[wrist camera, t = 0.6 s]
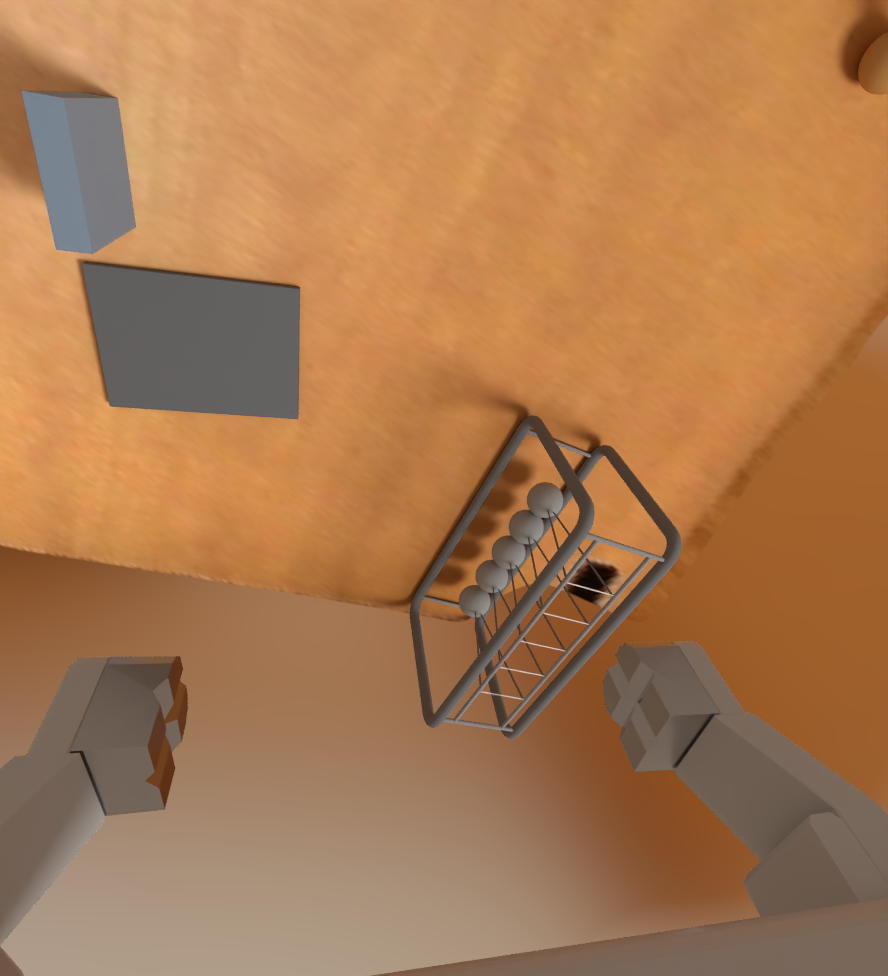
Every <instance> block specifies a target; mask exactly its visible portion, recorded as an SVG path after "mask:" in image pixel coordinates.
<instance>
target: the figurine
mask: <svg viewBox="0 0 888 976" xmlns="http://www.w3.org/2000/svg"><path fill="white" fill-rule="evenodd" d="M858 79H859V82H860V84H861V86H862V87H863V88H864V89H865V90H866V91H867V92H869V93H872V94H887V93H888V32H886V33H884V34H883V35H881V36H880V37H879V38H877V39H876V40H875V41H874V42H873V43H872V44H871V45H870V46H869V47H868V49H867V50H866V52H865V53H864V55H863V57H862V59H861V61H860V64H859V69H858Z"/></svg>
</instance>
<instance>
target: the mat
mask: <svg viewBox="0 0 888 976" xmlns="http://www.w3.org/2000/svg"><path fill="white" fill-rule="evenodd" d="M82 268H83V273H84V278H85V283H86V288H87V293H88V298H89V303H90V308H91V313H92V318H93V323H94V328H95V334H96V339H97V344H98V349H99V354H100V359H101V364H102V369H103V374H104V379H105V384H106V389H107V394H108V399H109V404H110V406H112V407H127V408H141V409H156V410H171V411H186V412H200V413H215V414H230V415H244V416H259V417H274V418H289V419H298V401H299V318H300V287H294V286H285V285H277V284H268V283H260V282H251V281H243V280H234V279H226V278H217V277H209V276H200V275H192V274H183V273H175V272H166V271H158V270H149V269H141V268H133V267H124V266H116V265H107V264H99V263H90V262H84V263H82Z"/></svg>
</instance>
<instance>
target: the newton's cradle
mask: <svg viewBox="0 0 888 976" xmlns="http://www.w3.org/2000/svg"><path fill="white" fill-rule="evenodd" d="M532 427H533V429H534V431H535V432H533V431H531V430H530V429H531V428H532ZM527 433H528V434H530V435H533V436H535V437H538V438H539V439H540V441H541V443H542V444H543V446H544V448H545V449H546V451H547V453H548V455H549V456H550V458H551V460H552V461H553V463H554V465H555V467H556V468H557V470H558V472H559V473H560V475H561V477H562V479H563V480H564V482H565V484H566V485H567V487H566V489H565V490H564V492H563V493H561V491H560V490H559V488H558V487H557V486H555V485H554V484H552V483H548V482H543V483H539V484H536V485H535V486H533V487H532V488H531V490H530V491H529V493H528V496H527V504H528V507H529V509H530V510H521V511H518V512H517V513H515V514H514V515H513V516H512V518H511V520H510V522H509V531H510V534H511V536H503V537H500V538H499V539H498V540H497V541H496V542H495V543H494V545H493V547H492V557H493V560H487V561H485V562H483V563H482V564H480V566H479V567H478V569H477V571H476V582H477V584H478V586H477V585H471V586H468V587H466V588H465V589H464V590H463V591H462V592H461V594H460V596H459V604H455V603H451V602H447V601H443V600H439V599H434V598H430V597H426V596H425V594H426V593H427V591H428V590H429V588H430V587H431V585H432V583H433V582H434V580H435V579H436V577H437V575H438V574H439V572H440V571H441V569H442V567H443V566H444V564H445V563H446V561H447V560H448V558H449V556H450V555H451V553H452V552H453V550H454V548H455V547H456V545H457V544H458V542H459V540H460V539H461V537H462V536H463V534H464V533H465V531H466V529H467V528H468V526H469V525H470V523H471V521H472V520H473V518H474V517H475V515H476V513H477V512H478V510H479V509H480V507H481V506H482V504H483V502H484V501H485V499H486V498H487V496H488V494H489V493H490V491H491V490H492V488H493V486H494V485H495V483H496V482H497V480H498V479H499V477H500V475H501V474H502V472H503V471H504V469H505V467H506V466H507V464H508V463H509V461H510V459H511V458H512V456H513V455H514V453H515V452H516V450H517V448H518V447H519V445H520V444H521V442H522V440H523V439H524V437H525V436H526V434H527ZM558 446H561V447H563V448H566V449H569V450H571V451H574V452H576V453H579V454H581V455H584V456H586V457H588V458H587V459H586V461H585V462H584V463H583V465H582V466H581V468H580V469H579V470H578V472H577V473H576V474H575V472H574V471H573V469H572V468H571V466H570V464H569V463H568V461H567V460H566V458H565V456H564V455H563V453H562V452H561V450H560V448H559V447H558ZM603 456H606V457H607V459H608V460H609V461H610V463H611V464H612V465H613V467H614V468H615V470H616V471H617V472H618V474H619V475H620V476H621V478H622V479H623V480H624V482H625V483H626V484H627V486H628V487H629V488H630V490H631V491H632V492H633V494H634V495H635V496H636V498H637V499H638V500H639V502H640V503H641V505H642V506H643V507H644V509H645V510H646V511H647V513H648V514H649V515H650V517H651V518H652V519H653V521H654V522H655V523H656V525H657V526H658V527H659V529H660V530H661V531H662V533H663V534H664V535H665V537H666V540H667V547H666V551H665V553H664V555H663V556H662V557H660V556H657V555H654V554H651V553H648V552H645V551H642V550H639V549H636V548H633V547H630V546H627V545H624V544H621V543H618V542H614V541H611V540H608V539H605V538H602V537H599V536H596V535H593V534H590V533H589V531H590V530H591V527H592V524H593V520H594V505H593V502H592V500H591V498H590V496H589V495H588V493H587V491H586V490H585V488H584V487H583V485H582V482H583V481H584V480H585V478H586V477H587V476H588V474H589V473H590V471H591V470H592V469H593V467H594V466H595V464H596V463H597V462H598V460H599V459H600V458H601V457H603ZM572 496H573V497H574V499H575V501H576V502H577V504H578V506H579V511H580V514H579V519H578V522H577V524H576V526H575V528H574V529H573V531H572V532H571V533H569V532H568V531H567V529H566V528H565V526H564V525H563V524H562V522H561V521H560V519H559V518H558V516H559V514H560V513H561V511H562V510H563V509H564V507H565V506H566V505H567V503H568V502H569V500H570V499H571V498H572ZM541 518H544V520H543V521H542V519H541ZM556 518H557V519H558V521H559V522H560V523H561V525H562V526H563V528H564V529H565V531H566V532H567V533H568V535H569V536H568V537H567V539H566V540H565V541H564V543H563V544H562V545H561V547H560V548H559V546H558V543H557V539H556V535H555V532H554V528H553V522H554V521H555V520H556ZM550 527H552V531H553V534H554V538H555V542H556V546H557V549H558V551H557V552H556V553H555V555H554V556H553V557H552V559H551V560H550V561H548V559H547V558H546V556H545V554H544V553H543V551H542V550H541V548H540V547H539V545H538V543H539V542H540V540H541V539H542V538H543V536H544V535H545V534H546V532H547V531H548V529H549V528H550ZM585 538H589V539H592V540H594V541H593V542H592V543H591V545H590V546H589V547H588V549H587V550H586V551H585V552H584V553H583V552H582V550H581V549H580V548H579V546H580V544H581V543H582V542H583V540H584V539H585ZM599 542H602V543H605V544H608V545H611V546H614V547H617V548H620V549H623V550H627V551H630V552H633V553H636V554H639V555H642V556H645V557H646V558H645V559H644V561H643V562H642V563H641V564H640V565H639V566H638V568H637V569H636V570H635V571H634V572H633V573H632V574H631V576H630V577H629V578H628V579H627V580H626V581H625V583H624V584H623V585H622V586H621V587H620V588H619V590H618V591H617V592H616V593H615V594H614V595H613V594H612V593H611V591H610V590H609V588H608V587H607V586H606V584H605V583H604V581H603V580H602V579H601V577H600V576H599V574H598V573H597V571H596V570H595V569H594V567H593V566H592V564H591V563H590V562H589V560H588V559H587V557H588V555H589V554H590V553H591V552H592V550H593V549H594V548H595V547H596V545H597V544H598V543H599ZM523 544H526V545H525V546H524V545H523ZM536 546H538V548H539V549H540V551H541V553H542V554H543V556H544V557H545V559H546V560H547V562H548V564H547V565H546V567H545V568H544V569H543V571H542V572H541V573H540V575H539V576H538V577H537V574H536V569H535V564H534V559H533V554H532V551H533V550H534V549H535V547H536ZM577 548H578V549H579V550H580V552H581V553H582V556H581V557H580V559H579V560H578V561H577V563H576V564H575V565H574V566H573V568H572V569H571V570H570V571H569V573H568V574H567V575H566V572H565V568H564V565H565V564H566V562H567V561H568V560H569V559H570V557H571V556H572V555H573V553H574V552H575V551H576V550H577ZM680 552H681V538H680V535H679V533H678V531H677V529H676V528H675V526H674V525H673V524H672V522H671V521H670V520H669V519H668V517H667V516H666V515H665V513H664V512H663V511H662V510H661V508H660V507H659V506H658V505H657V503H656V502H655V501H654V499H653V498H652V497H651V496H650V494H649V493H648V492H647V490H646V489H645V488H644V487H643V485H642V484H641V483H640V482H639V480H638V479H637V478H636V476H635V475H634V474H633V473H632V471H631V470H630V469H629V467H628V466H627V465H626V464H625V462H624V461H623V460H622V459H621V457H620V456H619V455H618V453H617V452H616V451H615V450H614V449H613V448H612V447H611V446H607V445H603V446H599V447H597V448H596V449H595V450H593V451H592V453H591V454H589V453H586V452H584V451H581V450H579V449H576V448H574V447H571V446H569V445H566V444H564V443H561V442H558V441H556V440H554V439H553V437H552V436H551V434H550V433H549V431H548V429H547V428H546V426H545V425H544V423H543V421H542V420H541V419H540V418H539V417H538V416H529V417H527V418H526V419H524V420H523V421H522V422H521V424H520V425H519V426H518V428H517V430H516V431H515V433H514V434H513V436H512V438H511V439H510V441H509V443H508V444H507V446H506V447H505V449H504V451H503V452H502V454H501V456H500V457H499V459H498V460H497V462H496V464H495V465H494V467H493V468H492V470H491V472H490V473H489V475H488V477H487V478H486V480H485V481H484V483H483V485H482V486H481V488H480V490H479V491H478V493H477V494H476V496H475V498H474V499H473V501H472V503H471V504H470V506H469V507H468V509H467V511H466V512H465V514H464V516H463V517H462V519H461V520H460V522H459V524H458V525H457V527H456V529H455V530H454V532H453V533H452V535H451V537H450V538H449V540H448V541H447V543H446V545H445V546H444V548H443V550H442V551H441V553H440V554H439V556H438V558H437V559H436V561H435V563H434V564H433V566H432V567H431V569H430V571H429V572H428V574H427V576H426V577H425V579H424V580H423V582H422V584H421V585H420V587H419V589H418V590H417V592H416V593H415V595H414V597H413V600H412V602H411V607H410V622H411V629H412V637H413V644H414V651H415V659H416V666H417V674H418V681H419V689H420V696H421V703H422V711H423V717H424V720H425V722H426V724H427V725H428V726H430V727H432V728H434V727H438V726H439V725H440V724H442V723H443V722H449V723H456V724H462V725H469V726H477V727H483V728H490V729H497V730H501V732H502V733H503V734H504V736H506V737H508V738H510V739H512V738H516V737H518V736H519V735H520V734H521V733H522V732H523V731H524V730H525V729H526V728H527V727H528V726H529V724H530V723H531V722H532V721H533V720H534V719H535V718H536V717H537V716H538V714H539V713H540V712H541V711H542V710H543V709H544V708H545V707H546V706H547V705H548V704H549V702H550V701H551V700H552V699H553V698H554V697H555V696H556V695H557V694H558V692H559V691H560V690H561V689H562V688H563V687H564V686H565V685H566V684H567V682H568V681H569V680H570V679H571V678H572V677H573V676H574V675H575V673H577V671H578V670H579V669H580V668H581V667H582V666H583V665H584V664H585V663H586V661H587V660H588V659H589V658H590V657H591V656H592V655H593V654H594V653H595V651H596V650H597V649H598V648H599V647H600V646H601V645H602V644H603V643H604V642H605V640H606V639H607V638H608V637H609V636H610V635H611V634H612V633H613V631H615V629H616V628H617V627H618V626H619V625H620V624H621V623H622V622H623V621H624V619H625V618H626V617H627V616H628V615H629V614H630V613H631V612H632V611H633V610H634V608H635V607H636V606H637V605H638V604H639V603H640V602H641V601H642V600H643V598H644V597H645V596H646V595H647V594H648V593H649V592H650V591H651V590H652V589H653V587H654V586H655V585H656V584H657V583H658V582H659V581H660V580H661V579H662V577H663V576H664V575H665V574H666V573H667V572H668V571H669V570H670V569H671V568H672V566H673V565H674V564H675V562H676V561H677V559H678V557H679V554H680ZM530 554H531V557H532V562H533V567H534V572H535V577H536V580H535V581H534V583H533V584H532V585H531V587H530V588H529V586H528V584H527V582H526V581H525V579H524V577H523V575H522V574H521V572H520V570H519V569H520V568H521V567H522V565H523V564H524V563H525V561H526V560H527V558H528V557H529V556H530ZM585 559H586V560H587V562H588V563H589V565H590V566H591V567H592V569H593V570H594V572H595V573H596V574H597V576H598V577H599V579H600V580H601V582H602V583H603V584H604V586H605V587H606V589H607V590H608V591H609V593H610V594H608V593H604V592H601V591H597V590H594V589H590V588H586V587H583V586H579V585H576V584H572V583H569V582H568V581H569V579H570V578H571V577H572V576H573V574H574V573H575V572H576V571H577V569H578V568H579V567H580V566H581V564H582V563H583V562H584V560H585ZM651 559H654V560H658V562H657V563H656V564H655V565H654V566H653V568H652V569H651V570H650V571H649V572H648V573H647V574H646V576H645V577H644V578H643V579H642V580H641V581H640V582H639V583H638V585H637V586H636V587H635V588H634V589H633V590H632V591H631V593H630V594H629V595H628V596H627V597H626V598H625V599H624V600H623V602H622V603H621V604H620V605H619V606H618V607H617V608H616V610H615V611H614V612H613V613H612V614H611V615H610V617H609V618H608V619H607V620H606V621H605V622H604V623H603V625H602V626H601V627H600V628H599V629H598V630H597V631H596V632H595V633H594V635H593V636H592V637H591V638H590V639H589V640H588V641H587V642H586V644H585V645H584V646H583V647H582V648H581V649H580V650H579V652H578V653H577V654H576V655H575V656H574V657H573V658H572V660H571V661H570V662H569V663H568V664H567V665H566V666H565V668H564V669H563V670H562V671H561V672H560V673H559V674H558V675H557V677H556V678H555V679H554V680H553V681H552V682H551V683H550V685H549V686H548V687H547V688H546V689H545V690H544V691H543V693H541V695H540V696H539V697H538V698H537V699H536V700H535V701H534V703H533V704H532V705H531V706H530V707H529V708H528V709H527V710H526V712H525V713H524V714H523V715H522V716H521V717H520V718H519V720H518V721H517V722H516V723H515V724H514V725H513V726H512V727H511V726H510V724H509V722H510V721H511V719H512V718H513V717H514V716H515V715H516V714H517V713H518V712H519V710H520V709H521V708H522V707H523V705H525V704H526V702H527V701H528V700H529V699H530V698H531V697H532V695H533V694H534V693H535V692H536V691H537V690H538V689H539V687H540V686H541V685H542V684H543V683H544V682H545V680H546V679H547V678H548V677H549V676H550V675H551V674H552V673H553V671H554V670H555V669H556V668H557V667H558V666H559V664H560V663H561V662H562V661H563V660H564V659H565V658H566V656H567V655H568V654H569V653H570V652H571V651H572V649H573V648H574V647H575V646H576V645H577V644H578V643H579V641H580V640H581V639H582V638H583V637H584V636H585V635H586V634H587V632H588V631H589V630H590V629H591V628H592V627H593V625H594V624H595V623H596V622H597V621H598V620H599V619H600V617H601V616H602V615H603V614H604V613H605V612H606V611H607V609H608V608H609V607H610V606H611V605H612V604H613V603H614V601H615V600H616V599H617V598H618V597H619V596H620V595H621V593H622V592H623V591H624V590H625V589H626V588H627V586H628V585H629V584H630V583H631V582H632V581H633V580H634V578H635V577H636V576H637V575H638V574H639V573H640V572H641V570H642V569H643V568H644V567H645V566H646V565H647V564H648V562H649V561H650V560H651ZM562 568H563V572H564V575H565V578H564V579H563V580H562V581H561V580H560V578H559V576H558V575H557V574H558V573H559V571H560V570H561V569H562ZM507 569H508V570H507ZM518 571H519V573H520V575H521V577H522V578H523V580H524V582H525V584H526V585H527V587H528V591H527V592H526V593H525V595H524V596H523V597H522V599H521V600H520V601H519V603H518V604H517V602H516V595H515V588H514V581H513V578H514V576H515V575H516V574H517V572H518ZM556 576H557V578H558V579H559V581H560V584H559V585H558V587H557V588H556V589H555V591H554V592H553V593H552V594H551V596H550V597H549V598H548V599H547V601H546V602H545V603H544V605H543V603H542V598H541V594H542V593H543V592H544V591H545V590H546V588H547V587H548V586H549V584H550V583H551V582H552V581H553V579H554V578H555V577H556ZM511 581H512V585H513V592H514V599H515V608H514V609H513V610H512V612H511V611H510V609H509V607H508V605H507V603H506V601H505V599H504V597H503V595H502V593H503V592H504V590H505V589H506V587H507V586H508V585H509V583H510V582H511ZM566 583H568V584H572V585H575V586H579V587H582V588H586V589H589V590H593V591H597V592H600V593H604V594H607V595H611V596H612V598H611V599H610V600H609V601H608V602H607V603H606V605H605V606H604V607H603V608H602V609H601V610H600V612H599V613H598V614H597V615H596V616H595V617H594V618H593V620H592V621H591V622H590V623H588V622H587V621H586V619H585V617H584V616H583V614H582V613H581V611H580V610H579V608H578V606H577V605H576V604H575V602H574V600H573V599H572V597H571V595H570V594H569V592H568V591H567V589H566V587H565V584H566ZM563 587H564V589H565V591H566V592H567V594H568V595H569V597H570V598H571V600H572V602H573V603H574V605H575V606H576V608H577V609H578V611H579V613H580V614H581V616H582V617H583V619H584V621H585V622H586V623H583V622H580V623H583V624H587V627H586V628H585V629H584V630H583V631H582V632H581V633H580V635H579V636H578V637H577V638H576V639H575V641H574V642H573V643H572V644H571V645H570V646H569V647H568V649H567V650H565V649H564V647H563V645H562V644H561V642H560V640H559V638H558V637H557V635H556V633H555V631H554V630H553V628H552V626H551V624H550V623H549V621H548V619H547V617H546V616H545V614H547V613H544V611H545V610H546V608H547V607H548V606H549V604H550V603H551V602H552V601H553V600H554V598H555V597H556V596H557V594H558V593H559V592H560V591H561V589H562V588H563ZM488 592H489V593H491V594H490V596H489V594H488ZM500 596H501V597H502V599H503V600H504V602H505V604H506V606H507V608H508V610H509V612H510V614H509V616H508V617H507V618H506V620H505V621H504V622H503V624H502V625H501V626H500V628H499V629H498V627H497V617H496V606H495V603H496V601H497V600H498V598H499V597H500ZM539 597H540V602H541V607H540V605H539V603H538V602H537V600H538V598H539ZM422 599H425V600H429V601H433V602H437V603H442V604H446V605H450V606H454V607H459V608H461V610H462V611H463V613H464V614H466V615H467V616H470V617H475V631H476V636H477V652H478V657H477V658H476V660H475V661H474V662H473V664H472V665H471V666H470V668H469V669H468V670H467V672H466V673H465V674H464V676H463V677H462V678H461V680H460V681H459V682H458V684H457V685H456V686H455V688H454V689H453V690H452V691H451V693H450V694H449V696H448V697H447V698H446V699H445V701H444V702H443V704H442V705H441V706H440V708H439V709H438V710H437V711H436V713H435V714H434V712H433V706H432V699H431V692H430V686H429V679H428V672H427V666H426V659H425V653H424V647H423V640H422V633H421V626H420V620H419V608H420V604H421V601H422ZM535 602H536V603H537V605H538V606H539V608H540V610H539V611H538V612H537V614H536V615H535V616H534V617H533V619H532V620H531V621H530V623H529V624H528V625H527V626H526V627H525V629H524V630H523V631H522V632H521V630H520V622H521V621H522V619H523V618H524V617H525V615H526V614H527V613H528V612H529V610H530V609H531V608H532V606H533V605H534V604H535ZM493 605H494V611H495V622H496V633H495V634H494V636H492V634H491V632H490V630H489V628H488V626H487V624H486V622H485V617H486V615H487V614H488V612H489V611H490V609H491V608H492V607H493ZM542 613H543V615H544V617H545V619H546V620H547V622H548V624H549V626H550V628H551V629H552V631H553V633H554V635H555V636H556V638H557V640H558V642H559V643H560V645H561V647H562V649H563V650H561V649H556V648H552V647H548V646H543V645H539V644H534V643H530V642H526V640H525V638H524V636H525V635H526V634H527V632H528V631H529V629H531V627H532V626H533V625H534V623H535V622H536V621H537V620H538V618H539V617H540V616H541V615H542ZM548 615H551V614H548ZM551 616H555V615H551ZM555 617H559V616H555ZM560 618H563V617H560ZM563 619H567V618H563ZM567 620H571V621H575V620H572V619H567ZM575 622H579V621H575ZM484 623H485V625H486V627H487V629H488V631H489V633H490V635H491V637H492V638H491V640H490V641H489V643H487V640H486V636H485V632H484V628H483V627H484ZM516 627H517V628H518V630H519V636H518V638H517V639H516V640H515V641H514V643H513V644H512V645H511V647H510V648H509V649H508V650H507V652H506V653H505V654H504V655H503V656H502V654H501V652H500V647H501V646H502V645H503V644H504V643H505V641H506V640H507V638H508V637H509V636H510V635H511V634H512V632H513V631H514V630H515V628H516ZM522 639H524V641H522ZM519 642H525V643H526V645H527V647H528V649H529V651H530V653H531V655H532V657H533V658H534V661H535V662H536V664H537V667H538V668H539V670H540V672H541V674H542V675H540V676H543V678H542V679H541V680H540V681H539V682H538V683H537V685H536V686H535V687H534V688H533V689H532V690H531V692H530V693H529V694H528V695H527V696H526V697H525V698H523V696H522V694H521V692H520V690H519V688H518V686H517V684H516V682H515V680H514V678H513V676H512V674H511V672H510V670H514V669H509V668H508V666H507V664H506V662H505V660H506V659H507V657H508V656H509V655H510V653H511V652H512V651H513V650H514V649H515V647H516V646H517V645H518V644H519ZM527 643H529V644H534V645H538V646H543V647H547V648H552V649H556V650H561V651H565V652H564V653H563V654H562V655H561V657H560V658H559V659H558V660H557V661H556V662H555V664H554V665H553V666H552V667H551V668H550V669H549V671H548V672H547V673H546V674H545V675H544V674H543V673H542V671H541V669H540V667H539V665H538V663H537V661H536V659H535V657H534V655H533V653H532V651H531V650H530V648H529V646H528V644H527ZM478 644H479V645H478ZM479 648H480V652H481V653H480V654H479ZM497 652H498V655H499V662H498V663H497V664H496V666H495V667H494V666H493V662H492V658H493V657H494V655H495V654H496V653H497ZM500 655H501V657H502V658H501V659H500ZM502 663H505V665H506V667H507V668H504V667H501V665H502ZM484 668H485V672H486V676H487V677H486V678H485V680H484V681H483V682H482V683H481V672H482V671H483V670H484ZM499 668H504V669H508V671H509V673H510V675H511V678H512V680H513V682H514V684H515V686H516V688H517V690H518V692H519V694H520V696H521V698H518V699H522V700H523V701H522V702H521V703H520V704H519V705H518V707H517V708H516V709H515V710H514V711H513V712H512V713H511V715H510V716H509V717H507V714H506V710H505V706H504V703H503V699H502V696H505V695H501V692H500V688H499V685H498V680H497V677H496V671H497V670H498V669H499ZM514 671H519V670H514ZM519 672H524V671H519ZM524 673H529V672H524ZM529 674H534V673H529ZM534 675H539V674H534ZM478 676H479V681H480V686H479V687H478V689H477V690H476V691H475V692H474V694H473V695H472V696H471V697H470V699H469V700H468V701H467V703H466V704H465V705H464V706H463V708H462V709H461V710H460V711H459V713H458V714H457V715H456V717H455V718H454V719H451V718H447V716H448V715H449V713H450V712H451V711H452V710H453V708H454V707H455V706H456V705H457V703H458V702H459V701H460V699H461V698H462V697H463V696H464V694H465V693H466V692H467V690H468V689H469V688H470V686H471V685H472V684H473V682H474V681H475V680H476V679H477V677H478ZM487 683H489V687H490V691H491V693H488V692H483V693H488V694H491V695H492V699H493V703H494V707H495V711H496V715H497V719H498V723H499V726H497V725H491V724H484V723H477V722H470V721H464V720H458V719H459V718H460V717H461V715H462V714H463V713H464V712H465V710H466V709H467V708H468V707H469V705H470V704H471V703H472V702H473V700H474V699H475V698H476V697H477V695H478V694H479V693H480V692H482V689H483V688H484V687H485V685H486V684H487ZM505 697H511V696H505ZM511 698H516V697H511Z"/></svg>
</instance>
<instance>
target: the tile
mask: <svg viewBox="0 0 888 976" xmlns="http://www.w3.org/2000/svg"><path fill="white" fill-rule="evenodd" d="M21 92H22V96H23V101H24V105H25V110H26V115H27V119H28V124H29V128H30V133H31V137H32V142H33V146H34V151H35V155H36V160H37V165H38V169H39V174H40V178H41V183H42V187H43V192H44V196H45V201H46V206H47V210H48V215H49V219H50V224H51V228H52V233H53V237H54V242H55V247H56V250H63V251H71V252H80V253H88V254H93V253H95V252H97V251H98V250H100V249H101V248H103V247H105V246H106V245H108V244H109V243H111V242H113V241H114V240H116V239H118V238H119V237H121V236H122V235H124V234H126V233H127V232H129V231H130V230H132V229H134V228H135V227H136V223H135V216H134V209H133V202H132V195H131V188H130V181H129V174H128V167H127V159H126V152H125V145H124V138H123V131H122V124H121V117H120V110H119V103H118V98H113V97H107V96H102V95H96V94H90V93H85V92H51V91H21Z"/></svg>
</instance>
